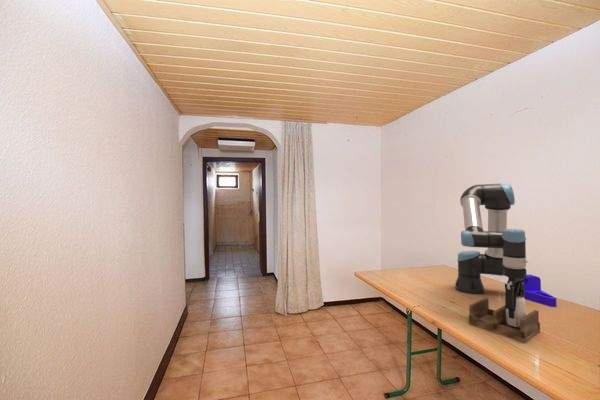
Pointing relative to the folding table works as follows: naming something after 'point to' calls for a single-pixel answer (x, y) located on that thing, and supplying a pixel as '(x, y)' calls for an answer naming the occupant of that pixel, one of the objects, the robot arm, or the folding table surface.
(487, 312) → the rack
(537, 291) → the bracket
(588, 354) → the folding table surface
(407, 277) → the folding table surface
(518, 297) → the can
